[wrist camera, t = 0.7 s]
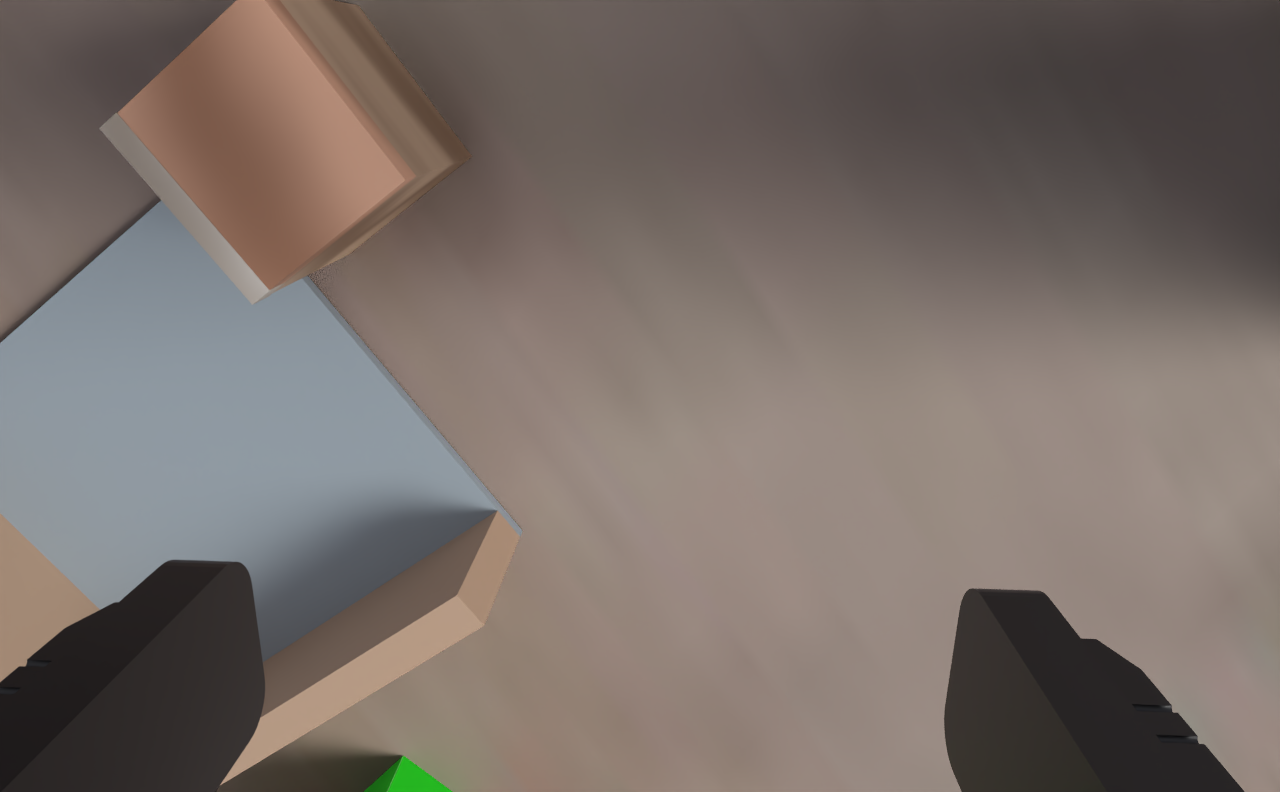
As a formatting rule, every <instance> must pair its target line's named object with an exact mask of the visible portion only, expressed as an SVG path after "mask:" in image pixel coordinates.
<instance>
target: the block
mask: <svg viewBox="0 0 1280 792" xmlns="http://www.w3.org/2000/svg"><path fill="white" fill-rule="evenodd" d="M99 129H100V130H101V131H102V133H103V134H104V135H105V136H106V137H107V138H108V139H109V141H110V142H111V143H112V144H113V145H114V146H115V148H116V149H117V150H118V151H119V152H120V153H121V154H122V156H123V157H124V158H125V159H126V160H127V161H128V162H129V164H130V165H131V166H132V167H133V168H134V169H135V171H136V172H137V173H138V174H139V175H140V176H141V177H142V179H143V180H144V181H145V182H146V183H147V184H148V185H149V187H150V188H151V189H152V190H153V191H154V192H155V194H156V195H157V196H158V197H159V198H160V199H161V200H162V202H163V203H164V204H165V205H166V206H167V207H168V208H169V210H170V211H171V212H172V213H173V214H174V215H175V217H176V218H177V219H178V220H179V221H180V222H181V223H182V225H183V226H184V227H185V228H186V229H187V230H188V231H189V233H190V234H191V235H192V236H193V237H194V238H195V240H196V241H197V242H198V243H199V244H200V245H201V246H202V248H203V249H204V250H205V251H206V252H207V253H208V254H209V256H210V257H211V258H212V259H213V260H214V261H215V263H216V264H217V265H218V266H219V267H220V268H221V269H222V271H223V272H224V273H225V274H226V275H227V276H228V277H229V279H230V280H231V281H232V282H233V283H234V284H235V286H236V287H237V288H238V289H239V290H240V291H241V292H242V294H243V295H244V296H245V297H246V298H247V299H248V300H249V302H250V303H251V304H252V305H253V304H255V303H257V302H259V301H261V300H263V299H265V298H267V297H269V296H270V295H271V294H272V293H274V292H276V291H278V290H280V289H282V288H284V287H286V286H288V285H290V284H292V283H294V282H296V281H298V280H300V279H302V278H304V277H305V276H307V275H309V274H311V273H313V272H315V271H317V270H319V269H321V268H323V267H325V266H327V265H329V264H331V263H333V262H335V261H337V260H339V259H341V258H343V257H345V256H347V255H349V254H350V253H351V252H353V251H354V250H355V249H356V248H358V247H359V246H360V245H361V244H363V243H364V242H365V241H366V240H368V239H369V238H370V237H371V236H373V235H374V234H375V233H376V232H378V231H379V230H380V229H382V228H383V227H384V226H385V225H387V224H388V223H389V222H390V221H392V220H393V219H394V218H395V217H397V216H398V215H399V214H400V213H402V212H403V211H404V210H405V209H407V208H408V207H409V206H410V205H412V204H413V203H414V202H415V201H417V200H418V199H419V198H420V197H422V196H423V195H424V194H426V193H427V192H428V191H429V190H431V189H432V188H433V187H434V186H436V185H437V184H438V183H439V182H441V181H442V180H443V179H444V178H446V177H447V176H448V175H449V174H451V173H452V172H453V171H454V170H456V169H457V168H458V167H459V166H461V165H462V164H463V163H464V162H466V161H467V160H468V159H470V158H471V157H472V156H471V155H470V153H469V152H468V151H467V149H466V148H465V147H464V145H463V144H462V143H461V141H460V140H459V139H458V137H457V136H456V135H455V133H454V132H453V131H452V129H451V128H450V127H449V125H448V124H447V123H446V121H445V120H444V119H443V117H442V116H441V115H440V113H439V112H438V111H437V109H436V108H435V107H434V105H433V104H432V103H431V101H430V100H429V99H428V97H427V96H426V95H425V93H424V92H423V91H422V89H421V88H420V87H419V85H418V84H417V83H416V81H415V80H414V79H413V78H412V76H411V75H410V74H409V72H408V71H407V70H406V68H405V67H404V66H403V64H402V63H401V62H400V60H399V59H398V58H397V56H396V55H395V54H394V52H393V51H392V50H391V48H390V47H389V46H388V44H387V43H386V42H385V40H384V39H383V38H382V36H381V35H380V34H379V32H378V31H377V30H376V28H375V27H374V26H373V24H372V23H371V22H370V20H369V19H368V18H367V16H366V15H365V14H364V12H363V11H362V10H361V8H360V7H359V6H358V5H355V4H349V3H344V2H339V1H334V0H236V1H235V2H234V3H233V4H232V5H231V6H230V7H229V8H228V9H227V10H226V11H225V12H223V13H222V14H221V15H220V16H219V17H218V18H217V19H216V20H215V21H214V22H213V23H212V24H211V25H210V26H209V27H208V28H207V29H206V30H204V31H203V32H202V33H201V34H200V35H199V36H198V37H197V38H196V39H195V40H194V41H193V42H192V43H191V44H190V45H189V46H188V47H187V48H185V49H184V50H183V51H182V52H181V53H180V54H179V55H178V56H177V57H176V58H175V59H174V60H173V61H172V62H171V63H170V64H169V65H167V66H166V67H165V68H164V69H163V70H162V71H161V72H160V73H159V74H158V75H157V76H156V77H155V78H154V79H153V80H152V81H151V82H150V83H148V84H147V85H146V86H145V87H144V88H143V89H142V90H141V91H140V92H139V93H138V94H137V95H136V96H135V97H134V98H133V99H132V100H131V101H129V102H128V103H127V104H126V105H125V106H124V107H123V108H122V109H121V110H120V111H119V112H116V113H115V114H114V115H113V116H112V117H111V118H110V119H108V120H107V121H106V122H105V123H104V124H103V125H102V126H101V127H100V128H99Z"/></svg>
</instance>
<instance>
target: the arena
mask: <svg viewBox="0 0 1280 792" xmlns="http://www.w3.org/2000/svg"><path fill="white" fill-rule="evenodd" d="M521 533H522V530H521V529H520V527H519V526H518V525H517V524H516V523H515V521H514V520H513V519H512V518H511V517H510V516H509V514H508V513H507V512H506V511H505V510H504V508H503V507H502V506H501V505H500V504H499V502H498V501H497V500H496V499H495V498H494V497H493V495H492V494H491V493H490V492H489V491H488V489H487V488H486V487H485V486H484V485H483V483H482V482H481V481H480V480H479V479H478V478H477V476H476V475H475V474H474V473H473V472H472V470H471V469H470V468H469V467H468V466H467V464H466V463H465V462H464V461H463V460H462V458H461V457H460V456H459V455H458V454H457V453H456V451H455V450H454V449H453V448H452V447H451V445H450V444H449V443H448V442H447V441H446V439H445V438H444V437H443V436H442V435H441V434H440V432H439V431H438V430H437V429H436V428H435V426H434V425H433V424H432V423H431V422H430V420H429V419H428V418H427V417H426V416H425V415H424V413H423V412H422V411H421V410H420V409H419V407H418V406H417V405H416V404H415V403H414V401H413V400H412V399H411V398H410V397H409V396H408V394H407V393H406V392H405V391H404V390H403V388H402V387H401V386H400V385H399V384H398V382H397V381H396V380H395V379H394V378H393V377H392V375H391V374H390V373H389V372H388V371H387V369H386V368H385V367H384V366H383V365H382V363H381V362H380V361H379V360H378V359H377V358H376V356H375V355H374V354H373V353H372V352H371V350H370V349H369V348H368V347H367V346H366V344H365V343H364V342H363V341H362V340H361V338H360V337H359V336H358V335H357V334H356V333H355V331H354V330H353V329H352V328H351V327H350V325H349V324H348V323H347V322H346V321H345V319H344V318H343V317H342V316H341V315H340V314H339V312H338V311H337V310H336V309H335V308H334V306H333V305H332V304H331V303H330V302H329V300H328V299H327V298H326V297H325V296H324V295H323V293H322V292H321V291H320V290H319V289H318V287H317V286H316V285H315V284H314V283H313V281H312V280H311V279H310V278H309V277H308V276H305V277H304V278H302V279H300V280H298V281H296V282H294V283H292V284H290V285H288V286H286V287H284V288H282V289H280V290H278V291H276V292H274V293H272V294H271V295H270V296H269V297H267V298H265V299H263V300H261V301H259V302H257V303H255V304H253V305H252V304H251V303H250V302H249V300H248V299H247V298H246V297H245V296H244V295H243V294H242V292H241V291H240V290H239V289H238V288H237V287H236V286H235V284H234V283H233V282H232V281H231V280H230V279H229V277H228V276H227V275H226V274H225V273H224V272H223V271H222V269H221V268H220V267H219V266H218V265H217V264H216V263H215V261H214V260H213V259H212V258H211V257H210V256H209V254H208V253H207V252H206V251H205V250H204V249H203V248H202V246H201V245H200V244H199V243H198V242H197V241H196V240H195V238H194V237H193V236H192V235H191V234H190V233H189V231H188V230H187V229H186V228H185V227H184V226H183V225H182V223H181V222H180V221H179V220H178V219H177V218H176V217H175V215H174V214H173V213H172V212H171V211H170V210H169V208H168V207H167V206H166V205H165V204H164V203H163V202H162V200H161V201H160V202H159V203H157V204H156V205H155V206H154V207H153V208H152V209H151V210H150V211H148V212H147V213H146V214H145V215H144V216H143V217H142V218H141V219H139V220H138V221H137V222H136V223H135V224H134V225H133V226H131V227H130V228H129V229H128V230H127V231H126V232H125V233H124V234H122V235H121V236H120V237H119V238H118V239H117V240H116V241H115V242H113V243H112V244H111V245H110V246H109V247H108V248H107V249H106V250H104V251H103V252H102V253H101V254H100V255H99V256H98V257H97V258H95V259H94V260H93V261H92V262H91V263H90V264H89V265H88V266H86V267H85V268H84V269H83V270H82V271H81V272H80V273H79V274H77V275H76V276H75V277H74V278H73V279H72V280H71V281H70V282H68V283H67V284H66V285H65V286H64V287H63V288H62V289H61V290H59V291H58V292H57V293H56V294H55V295H54V296H53V297H52V298H50V299H49V300H48V301H47V302H46V303H45V304H44V305H43V306H41V307H40V308H39V309H38V310H37V311H36V312H35V313H34V314H32V315H31V316H30V317H29V318H28V319H27V320H26V321H25V322H23V323H22V324H21V325H20V326H19V327H18V328H17V329H16V330H14V331H13V332H12V333H11V334H10V335H9V336H8V337H6V338H5V339H4V340H3V341H2V342H1V343H0V682H1V681H2V680H3V679H5V678H6V677H7V676H8V675H9V674H11V673H12V672H13V671H14V670H15V669H16V668H18V667H19V666H26V664H27V659H28V658H30V657H31V656H32V655H33V654H34V653H36V652H37V651H38V650H39V649H40V648H41V647H43V646H44V645H45V644H46V643H47V642H49V641H50V640H51V639H52V638H53V637H55V636H56V635H57V634H58V633H59V632H61V631H62V630H63V629H64V628H66V627H68V626H70V625H72V624H73V623H75V622H77V621H79V620H81V619H83V618H85V617H87V616H89V615H91V614H93V613H95V612H97V611H99V610H101V609H103V608H104V607H106V606H108V605H110V604H112V603H114V602H120V601H121V600H122V599H123V598H124V597H125V596H126V595H128V594H129V593H130V592H131V591H132V590H133V589H134V588H136V587H137V586H138V585H139V584H140V583H141V582H142V581H144V580H145V579H146V578H147V577H148V576H149V575H150V574H152V573H153V572H154V571H155V570H156V569H157V568H158V567H160V566H161V565H162V564H163V563H165V562H167V561H169V560H203V561H232V562H240V563H242V564H243V565H244V566H245V567H246V568H247V570H248V572H249V574H250V577H251V582H252V588H253V595H254V602H255V610H256V617H257V624H258V631H259V639H260V646H261V653H262V661H263V668H264V675H265V698H264V704H263V709H262V714H261V717H260V721H259V723H258V726H257V729H256V731H255V733H254V735H253V737H252V738H251V740H250V742H249V743H248V745H247V746H246V748H245V749H244V751H243V752H242V753H241V755H240V756H239V758H238V759H237V761H236V762H235V764H234V765H233V767H232V768H231V770H230V771H229V773H228V774H227V776H226V777H225V779H224V780H223V781H222V783H221V784H220V785H222V784H223V783H225V782H227V781H228V780H230V779H232V778H233V777H235V776H237V775H238V774H240V773H241V772H243V771H245V770H246V769H248V768H250V767H251V766H253V765H255V764H256V763H258V762H260V761H261V760H263V759H265V758H266V757H268V756H270V755H271V754H273V753H275V752H276V751H278V750H280V749H281V748H283V747H284V746H286V745H288V744H289V743H291V742H293V741H294V740H296V739H298V738H299V737H301V736H303V735H304V734H306V733H308V732H309V731H311V730H313V729H314V728H316V727H318V726H319V725H321V724H322V723H324V722H326V721H327V720H329V719H331V718H332V717H334V716H336V715H337V714H339V713H341V712H342V711H344V710H346V709H347V708H349V707H351V706H352V705H354V704H356V703H357V702H359V701H360V700H362V699H364V698H365V697H367V696H369V695H370V694H372V693H374V692H375V691H377V690H379V689H380V688H382V687H384V686H385V685H387V684H389V683H390V682H392V681H394V680H395V679H397V678H398V677H400V676H402V675H403V674H405V673H407V672H408V671H410V670H412V669H413V668H415V667H417V666H418V665H420V664H422V663H423V662H425V661H427V660H428V659H430V658H432V657H433V656H435V655H437V654H438V653H440V652H441V651H443V650H445V649H446V648H448V647H450V646H451V645H453V644H455V643H456V642H458V641H460V640H461V639H463V638H465V637H466V636H468V635H470V634H471V633H473V632H475V631H476V630H478V629H479V628H481V627H483V626H484V625H485V622H486V620H487V617H488V615H489V612H490V610H491V607H492V605H493V602H494V600H495V598H496V595H497V593H498V590H499V588H500V585H501V583H502V580H503V578H504V575H505V573H506V570H507V568H508V565H509V563H510V560H511V558H512V555H513V553H514V551H515V548H516V546H517V543H518V541H519V538H520V536H521Z"/></svg>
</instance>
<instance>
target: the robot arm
mask: <svg viewBox="0 0 1280 792" xmlns="http://www.w3.org/2000/svg"><path fill="white" fill-rule="evenodd" d="M264 698H265V675H264V668H263V661H262V653H261V646H260V639H259V631H258V624H257V617H256V610H255V602H254V595H253V588H252V582H251V577H250V574H249V572H248V570H247V568H246V567H245V566H244V565H243V564H242V563H240V562H232V561H203V560H169V561H167V562H165V563H163V564H162V565H161V566H160V567H158V568H157V569H156V570H155V571H154V572H153V573H152V574H150V575H149V576H148V577H147V578H146V579H145V580H144V581H142V582H141V583H140V584H139V585H138V586H137V587H136V588H134V589H133V590H132V591H131V592H130V593H129V594H128V595H126V596H125V597H124V598H123V599H122V600H121V601H120V602H114V603H112V604H110V605H108V606H106V607H104V608H103V609H101V610H99V611H97V612H95V613H93V614H91V615H89V616H87V617H85V618H83V619H81V620H79V621H77V622H75V623H73V624H72V625H70V626H68V627H66V628H64V629H63V630H62V631H61V632H59V633H58V634H57V635H56V636H55V637H53V638H52V639H51V640H50V641H49V642H47V643H46V644H45V645H44V646H43V647H41V648H40V649H39V650H38V651H37V652H36V653H34V654H33V655H32V656H31V657H30V658H28V659H27V664H26V666H19V667H18V668H16V669H15V670H14V671H13V672H12V673H11V674H9V675H8V676H7V677H6V678H5V679H3V680H2V681H1V682H0V792H216V790H217V789H218V787H219V786H220V784H221V783H222V781H223V780H224V779H225V777H226V776H227V774H228V773H229V771H230V770H231V768H232V767H233V765H234V764H235V762H236V761H237V759H238V758H239V756H240V755H241V753H242V752H243V751H244V749H245V748H246V746H247V745H248V743H249V742H250V740H251V738H252V737H253V735H254V733H255V731H256V729H257V726H258V723H259V721H260V717H261V714H262V709H263V704H264ZM944 726H945V739H946V746H947V752H948V756H949V760H950V764H951V767H952V770H953V772H954V775H955V777H956V779H957V782H958V784H959V786H960V789H961V791H962V792H1244V791H1243V789H1242V788H1241V787H1240V786H1239V785H1238V783H1237V782H1236V781H1235V780H1234V779H1233V778H1232V776H1231V775H1230V774H1229V773H1228V772H1227V770H1226V769H1225V768H1224V767H1223V766H1222V765H1221V763H1220V762H1219V761H1218V760H1217V759H1216V757H1215V756H1214V755H1213V754H1212V753H1211V752H1210V750H1209V749H1208V748H1207V747H1206V746H1205V744H1199V743H1198V740H1197V737H1198V736H1197V735H1196V734H1195V733H1194V731H1193V730H1192V729H1191V728H1190V727H1189V725H1188V724H1187V723H1186V722H1185V721H1184V720H1183V718H1182V717H1181V716H1180V715H1179V714H1178V713H1173V712H1172V705H1171V704H1170V703H1169V702H1168V701H1167V699H1166V698H1165V697H1164V696H1163V695H1162V694H1161V692H1160V691H1159V690H1158V689H1157V688H1156V686H1155V685H1154V684H1153V683H1152V682H1151V681H1150V679H1149V678H1148V677H1147V676H1146V675H1145V673H1144V672H1143V671H1142V670H1141V669H1139V668H1138V667H1137V666H1135V665H1134V664H1132V663H1131V662H1129V661H1128V660H1126V659H1125V658H1123V657H1122V656H1120V655H1119V654H1117V653H1116V652H1114V651H1113V650H1111V649H1110V648H1108V647H1107V646H1106V645H1104V644H1103V643H1101V642H1100V641H1098V640H1097V639H1081V638H1080V637H1079V636H1078V635H1077V633H1076V632H1075V631H1074V629H1073V628H1072V627H1071V626H1070V624H1069V623H1068V622H1067V620H1066V619H1065V618H1064V617H1063V615H1062V614H1061V613H1060V611H1059V610H1058V609H1057V608H1056V606H1055V605H1054V604H1053V602H1052V601H1051V600H1050V599H1049V597H1048V596H1047V595H1046V594H1045V593H1043V592H1041V591H1030V590H1001V589H969V590H968V591H967V592H966V593H965V595H964V597H963V599H962V602H961V606H960V611H959V618H958V624H957V631H956V638H955V644H954V651H953V658H952V664H951V671H950V678H949V684H948V691H947V698H946V704H945V717H944Z"/></svg>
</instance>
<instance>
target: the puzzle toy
mask: <svg viewBox="0 0 1280 792" xmlns="http://www.w3.org/2000/svg"><path fill="white" fill-rule="evenodd" d="M364 792H452V791H451V790H449V789H448V788H447V787H445V786H444V785H443V784H441V783H440V782H439V781H437V780H436V779H434V778H433V777H432V776H430V775H429V774H428V773H426V772H425V771H424V770H422V769H421V768H420V767H418V766H417V765H415V764H414V763H413V762H411V761H410V760H409V759H407V758H406V757H405V756H402V757H401V758H400V759H399V760H398V761H397V762H396V763H394V764H393V765H392V766H391V767H390V768H389V769H388V770H387V771H386V772H385V773H384V774H382V775H381V776H380V777H379V778H378V779H377V780H376V781H375V782H374V783H373V784H372V785H370V786H369V787H368V788H367V789H366V790H365V791H364Z"/></svg>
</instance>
